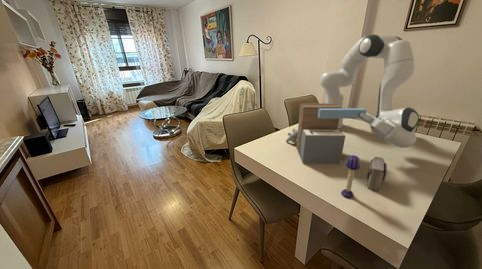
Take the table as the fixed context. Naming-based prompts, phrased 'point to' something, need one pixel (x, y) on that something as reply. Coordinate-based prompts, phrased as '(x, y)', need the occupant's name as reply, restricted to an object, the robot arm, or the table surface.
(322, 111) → the blue bar
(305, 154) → the stand
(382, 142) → the table surface
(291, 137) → the gray elephant figurine
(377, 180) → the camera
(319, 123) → the walnut stand
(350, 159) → the toy lamp
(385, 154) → the table surface
